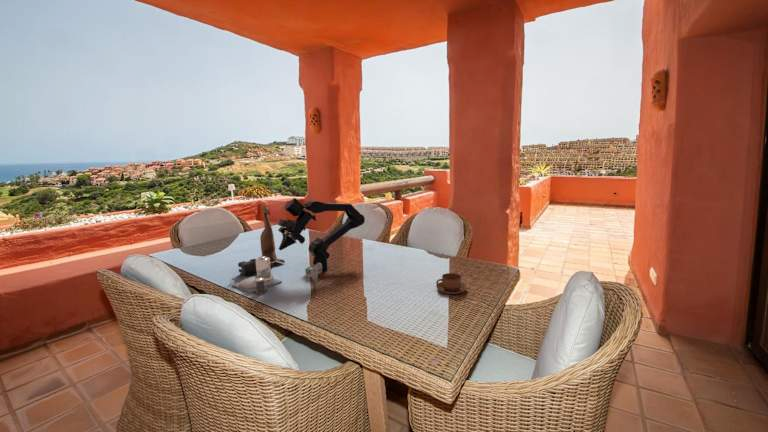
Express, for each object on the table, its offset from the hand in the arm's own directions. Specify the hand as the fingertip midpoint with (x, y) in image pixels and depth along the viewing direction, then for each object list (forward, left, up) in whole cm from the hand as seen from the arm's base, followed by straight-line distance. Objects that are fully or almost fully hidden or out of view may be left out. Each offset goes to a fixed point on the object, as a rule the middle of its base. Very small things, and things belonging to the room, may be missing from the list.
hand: (279, 249), depth 157 cm
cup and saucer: (-74, +20, -14) cm, 78 cm away
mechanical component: (-18, +14, -14) cm, 27 cm away
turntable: (+9, +7, -14) cm, 18 cm away
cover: (+6, +5, -12) cm, 14 cm away
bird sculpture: (+13, -22, -14) cm, 29 cm away
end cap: (+17, -8, -14) cm, 23 cm away
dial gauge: (+4, +17, -14) cm, 22 cm away
